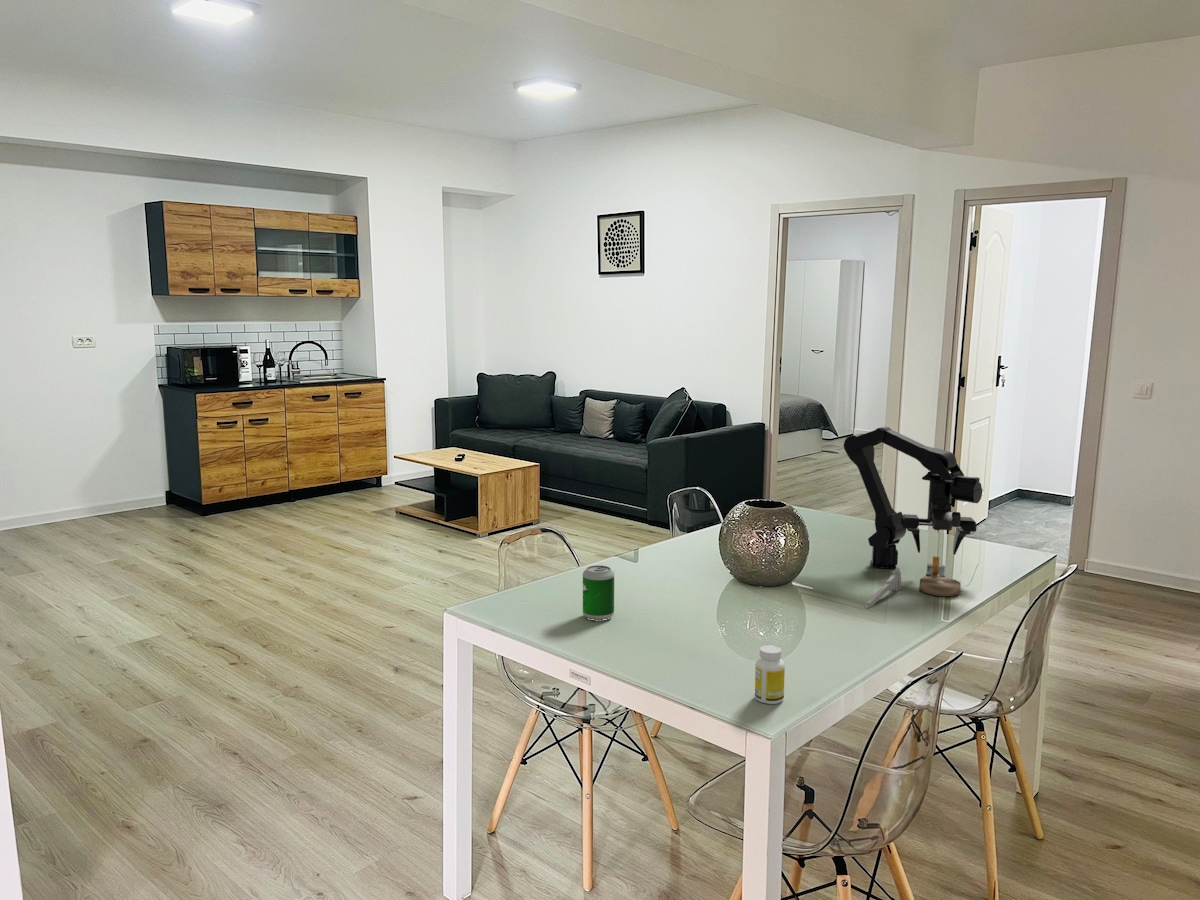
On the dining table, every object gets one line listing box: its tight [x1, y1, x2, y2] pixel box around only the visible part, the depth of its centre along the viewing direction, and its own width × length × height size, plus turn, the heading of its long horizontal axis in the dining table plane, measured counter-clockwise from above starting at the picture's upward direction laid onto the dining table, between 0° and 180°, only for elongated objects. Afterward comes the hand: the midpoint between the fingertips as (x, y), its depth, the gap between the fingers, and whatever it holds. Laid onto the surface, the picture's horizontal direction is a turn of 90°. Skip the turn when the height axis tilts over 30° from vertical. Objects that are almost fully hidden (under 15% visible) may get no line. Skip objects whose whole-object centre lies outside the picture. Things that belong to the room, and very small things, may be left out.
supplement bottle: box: [754, 645, 786, 705], centre depth 168 cm, size 5×5×10 cm
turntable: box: [919, 555, 962, 597], centre depth 235 cm, size 14×10×7 cm
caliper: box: [863, 567, 902, 609], centre depth 227 cm, size 20×1×6 cm, turn 140°
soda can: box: [582, 564, 615, 620], centre depth 213 cm, size 8×8×12 cm
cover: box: [925, 563, 947, 578], centre depth 246 cm, size 5×5×3 cm
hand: (936, 553), depth 245 cm, fingers open, 9 cm apart
